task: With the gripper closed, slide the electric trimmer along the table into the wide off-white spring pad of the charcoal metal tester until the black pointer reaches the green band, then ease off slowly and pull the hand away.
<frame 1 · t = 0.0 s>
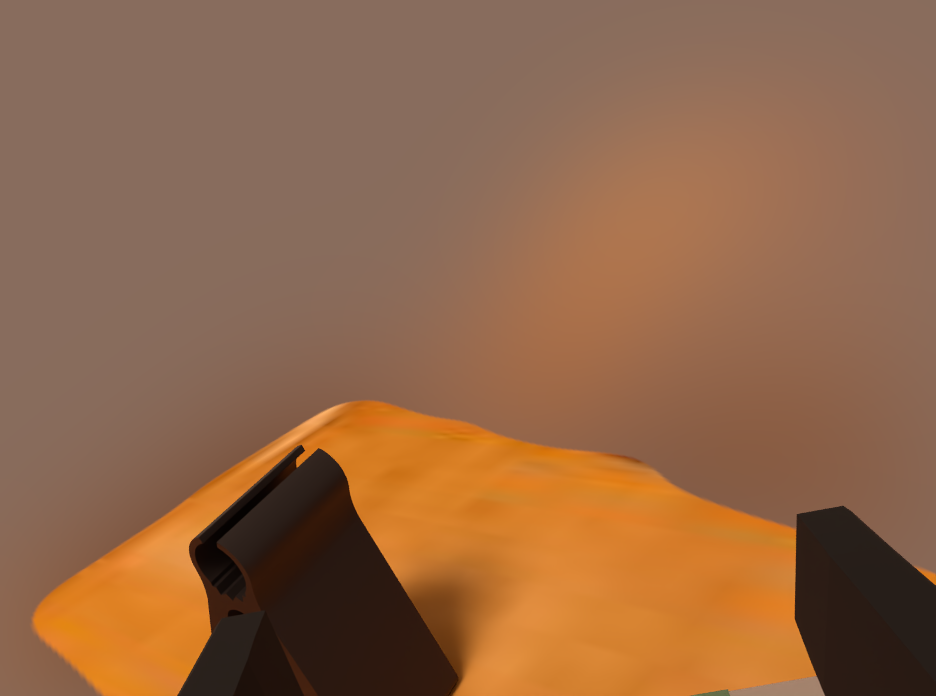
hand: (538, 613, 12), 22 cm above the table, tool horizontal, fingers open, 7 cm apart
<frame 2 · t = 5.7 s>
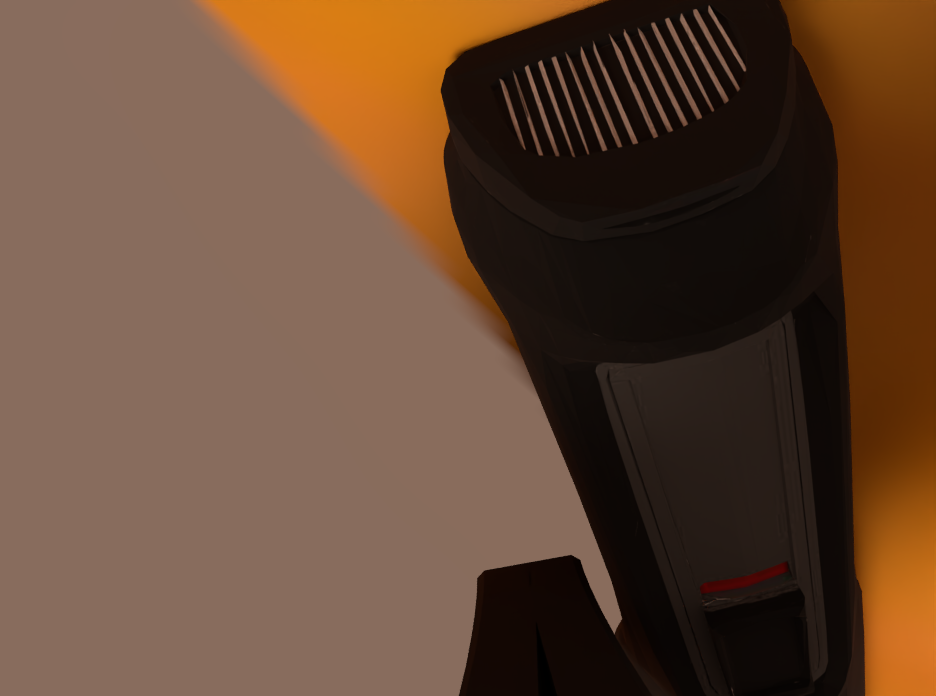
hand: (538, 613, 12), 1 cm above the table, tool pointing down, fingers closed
electric trimmer: (710, 501, 13), on the table
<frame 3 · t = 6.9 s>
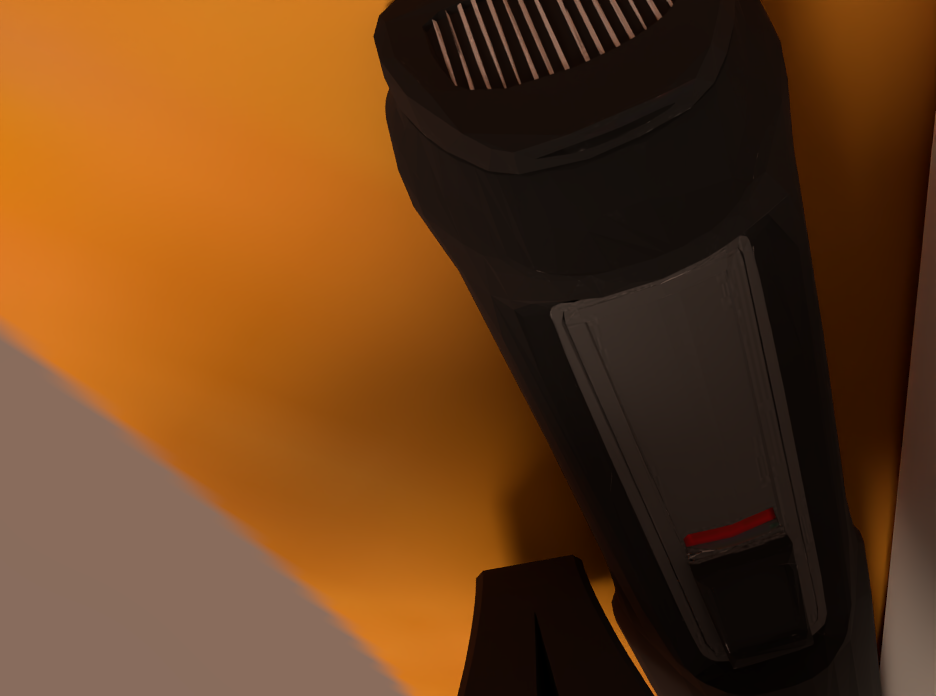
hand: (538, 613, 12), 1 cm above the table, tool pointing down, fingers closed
electric trimmer: (703, 458, 13), on the table
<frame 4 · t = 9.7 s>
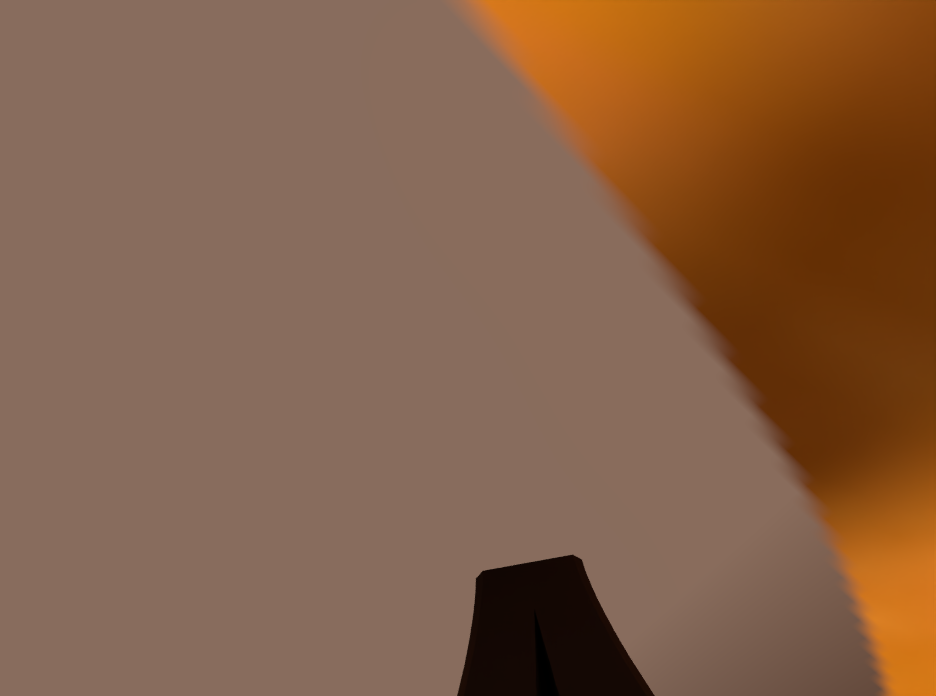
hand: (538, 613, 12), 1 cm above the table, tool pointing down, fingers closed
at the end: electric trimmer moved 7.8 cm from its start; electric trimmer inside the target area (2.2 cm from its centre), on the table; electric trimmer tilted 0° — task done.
